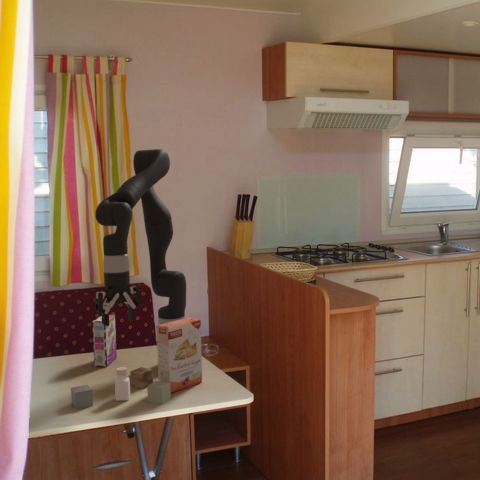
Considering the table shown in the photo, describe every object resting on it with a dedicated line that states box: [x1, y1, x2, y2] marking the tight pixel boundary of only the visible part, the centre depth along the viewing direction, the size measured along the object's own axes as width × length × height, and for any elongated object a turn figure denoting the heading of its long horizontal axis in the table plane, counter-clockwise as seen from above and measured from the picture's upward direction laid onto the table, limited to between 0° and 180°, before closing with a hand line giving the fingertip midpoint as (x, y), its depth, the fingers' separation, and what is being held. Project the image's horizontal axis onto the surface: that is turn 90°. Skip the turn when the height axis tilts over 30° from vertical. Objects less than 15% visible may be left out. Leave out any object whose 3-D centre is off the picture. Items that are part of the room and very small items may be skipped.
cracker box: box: [156, 316, 203, 394], centre depth 209 cm, size 14×6×21 cm, turn 137°
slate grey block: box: [70, 384, 94, 410], centre depth 197 cm, size 5×5×5 cm
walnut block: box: [129, 366, 154, 390], centre depth 212 cm, size 5×5×5 cm
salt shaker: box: [114, 366, 131, 402], centre depth 200 cm, size 4×4×10 cm
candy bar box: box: [91, 314, 118, 368], centre depth 237 cm, size 11×5×16 cm, turn 172°
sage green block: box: [146, 380, 172, 405], centre depth 199 cm, size 5×5×5 cm
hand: (118, 323), depth 198 cm, fingers open, 8 cm apart
